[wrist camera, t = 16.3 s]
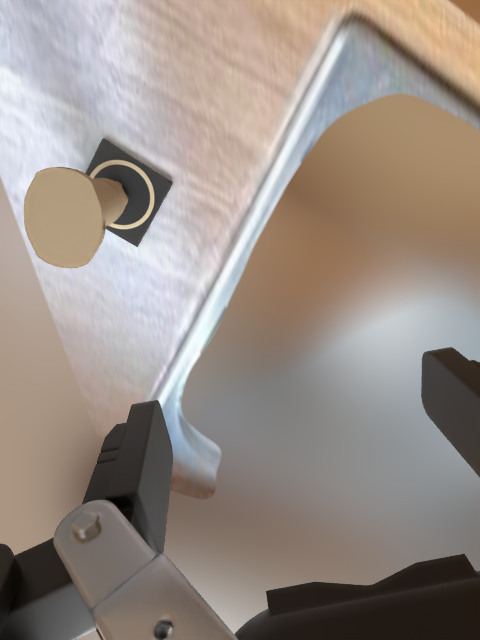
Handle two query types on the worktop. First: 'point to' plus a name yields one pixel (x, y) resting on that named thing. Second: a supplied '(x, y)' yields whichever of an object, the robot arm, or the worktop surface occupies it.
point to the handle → (70, 214)
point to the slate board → (130, 189)
